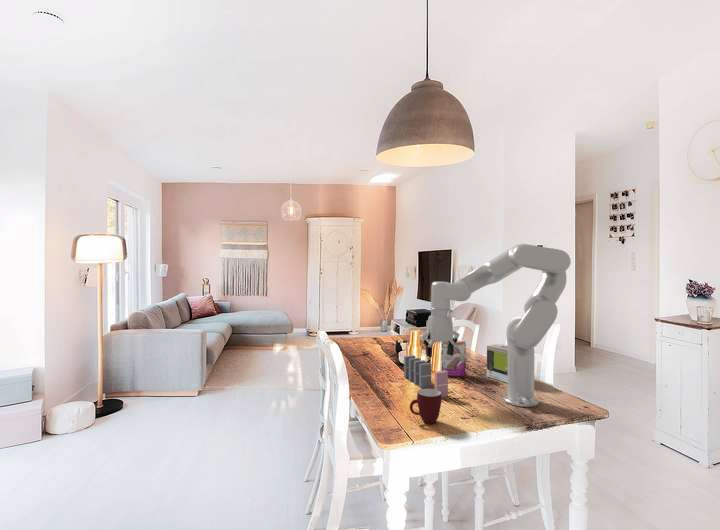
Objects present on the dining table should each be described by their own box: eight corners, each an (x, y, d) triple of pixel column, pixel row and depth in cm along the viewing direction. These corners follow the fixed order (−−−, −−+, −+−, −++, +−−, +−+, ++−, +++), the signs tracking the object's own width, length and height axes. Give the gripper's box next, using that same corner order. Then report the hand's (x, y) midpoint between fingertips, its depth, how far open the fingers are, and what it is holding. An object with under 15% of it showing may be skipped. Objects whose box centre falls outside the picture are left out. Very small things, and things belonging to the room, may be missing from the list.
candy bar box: (441, 376, 184) (441, 341, 184) (440, 373, 189) (440, 339, 189) (466, 377, 183) (465, 341, 183) (464, 373, 188) (464, 339, 188)
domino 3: (425, 383, 173) (425, 361, 173) (415, 385, 172) (415, 362, 172) (423, 382, 175) (423, 360, 175) (413, 383, 173) (413, 361, 173)
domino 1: (415, 377, 182) (415, 356, 182) (405, 378, 181) (405, 357, 181) (413, 376, 184) (413, 355, 184) (404, 377, 182) (403, 356, 182)
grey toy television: (528, 382, 175) (528, 348, 175) (512, 385, 170) (512, 351, 170) (501, 373, 188) (501, 342, 188) (486, 376, 183) (486, 344, 183)
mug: (413, 428, 128) (413, 397, 128) (407, 418, 136) (407, 389, 136) (445, 426, 129) (444, 395, 129) (437, 416, 137) (436, 387, 137)
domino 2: (420, 380, 178) (420, 358, 178) (410, 381, 176) (410, 359, 176) (418, 379, 180) (418, 357, 179) (408, 380, 178) (408, 358, 178)
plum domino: (447, 396, 157) (447, 371, 157) (436, 398, 155) (436, 373, 155) (445, 395, 158) (445, 370, 158) (434, 396, 157) (434, 371, 157)
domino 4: (431, 386, 169) (431, 363, 169) (421, 388, 167) (420, 364, 167) (429, 385, 171) (429, 362, 170) (419, 387, 169) (419, 363, 169)
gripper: (453, 310, 163) (453, 352, 163) (416, 312, 157) (415, 355, 157) (464, 313, 156) (463, 356, 156) (426, 314, 150) (425, 359, 150)
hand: (439, 355), depth 157 cm, fingers open, 9 cm apart
